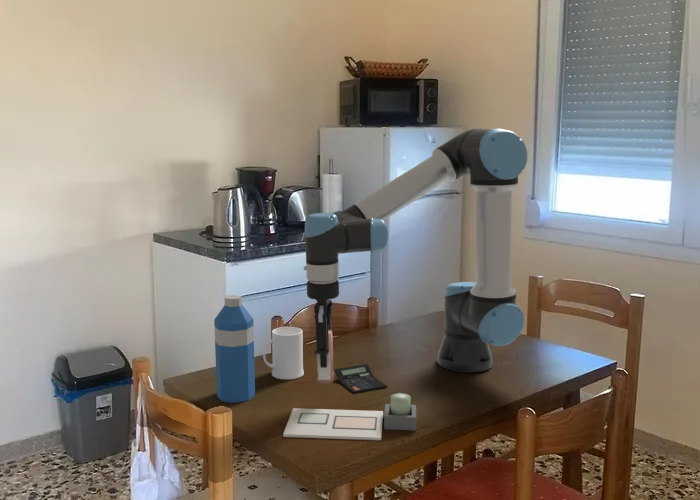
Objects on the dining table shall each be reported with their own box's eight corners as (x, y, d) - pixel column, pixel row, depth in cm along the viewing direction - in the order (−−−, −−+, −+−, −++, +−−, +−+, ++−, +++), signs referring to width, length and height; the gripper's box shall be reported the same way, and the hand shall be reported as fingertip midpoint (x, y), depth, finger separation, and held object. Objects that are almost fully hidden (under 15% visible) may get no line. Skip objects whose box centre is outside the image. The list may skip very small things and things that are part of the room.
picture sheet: (383, 413, 166) (383, 410, 166) (381, 440, 152) (381, 437, 152) (293, 410, 167) (293, 407, 167) (283, 436, 154) (283, 433, 153)
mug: (270, 384, 184) (269, 339, 182) (255, 374, 191) (254, 331, 188) (309, 375, 190) (309, 332, 188) (294, 366, 197) (293, 324, 195)
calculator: (353, 394, 178) (353, 383, 177) (334, 379, 188) (334, 368, 188) (386, 388, 182) (387, 377, 181) (366, 374, 192) (366, 363, 192)
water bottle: (218, 389, 181) (215, 292, 176) (255, 388, 181) (253, 292, 177) (214, 403, 171) (211, 302, 167) (254, 402, 172) (251, 301, 168)
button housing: (415, 417, 164) (416, 404, 163) (416, 430, 157) (416, 417, 156) (385, 416, 164) (385, 403, 164) (384, 429, 157) (384, 416, 157)
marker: (334, 377, 173) (333, 324, 170) (333, 383, 169) (331, 329, 166) (318, 377, 173) (316, 324, 171) (316, 383, 169) (314, 329, 167)
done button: (410, 410, 162) (410, 393, 161) (410, 418, 158) (410, 400, 157) (390, 409, 162) (391, 392, 162) (390, 417, 158) (390, 400, 157)
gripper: (311, 272, 175) (314, 363, 179) (301, 289, 158) (305, 389, 163) (341, 271, 174) (344, 363, 179) (335, 289, 158) (337, 389, 162)
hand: (325, 375), depth 171 cm, fingers closed on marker, 4 cm apart
